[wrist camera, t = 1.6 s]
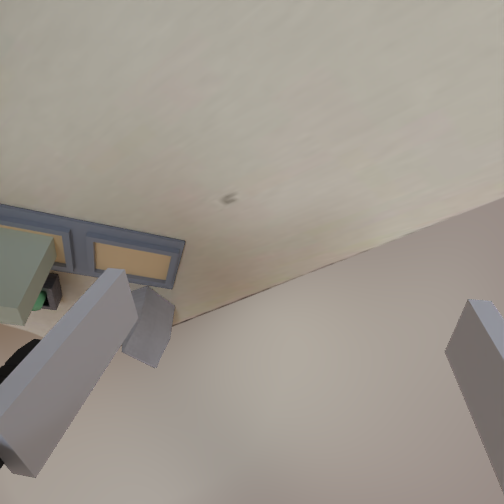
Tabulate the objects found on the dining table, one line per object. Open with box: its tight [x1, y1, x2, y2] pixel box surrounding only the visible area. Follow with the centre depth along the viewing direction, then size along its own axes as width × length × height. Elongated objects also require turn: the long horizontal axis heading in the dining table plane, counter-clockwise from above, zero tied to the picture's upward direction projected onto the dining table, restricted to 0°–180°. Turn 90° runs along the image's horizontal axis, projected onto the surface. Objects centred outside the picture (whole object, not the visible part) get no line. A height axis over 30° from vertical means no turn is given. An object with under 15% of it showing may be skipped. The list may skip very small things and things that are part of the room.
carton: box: [0, 227, 57, 326], centre depth 37 cm, size 7×4×10 cm, turn 71°
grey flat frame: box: [0, 204, 185, 289], centre depth 42 cm, size 25×11×1 cm, turn 71°
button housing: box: [41, 273, 62, 310], centre depth 47 cm, size 6×6×2 cm
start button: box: [32, 291, 47, 311], centre depth 46 cm, size 4×4×2 cm
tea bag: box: [122, 286, 175, 368], centre depth 49 cm, size 4×7×10 cm, turn 27°
